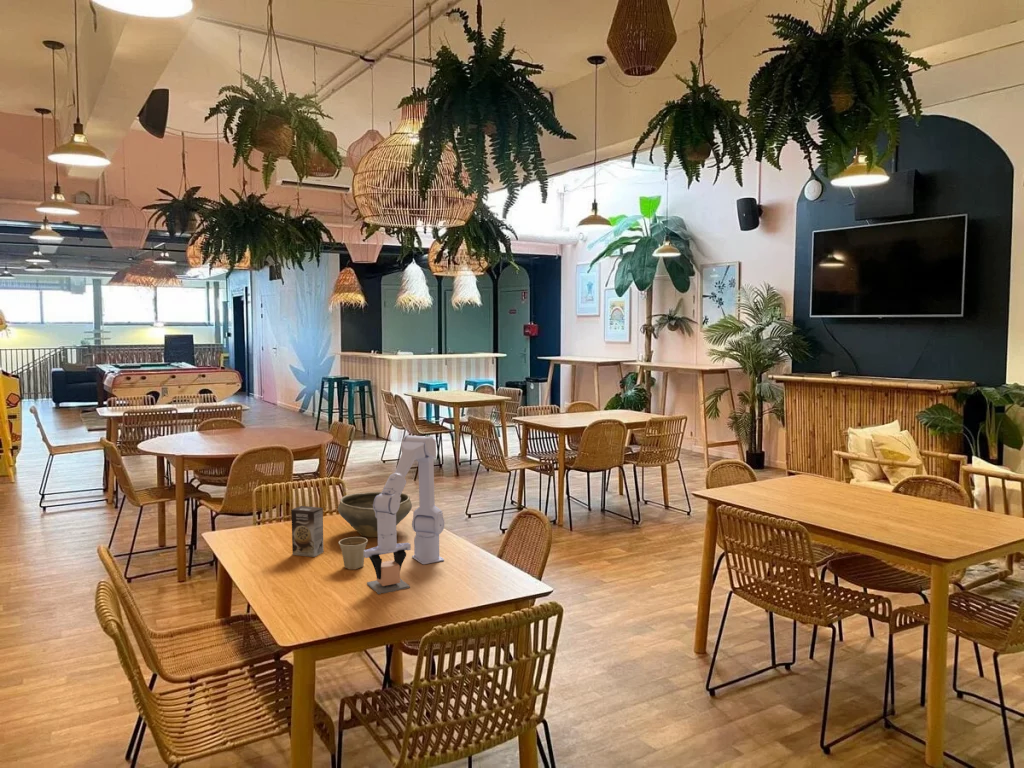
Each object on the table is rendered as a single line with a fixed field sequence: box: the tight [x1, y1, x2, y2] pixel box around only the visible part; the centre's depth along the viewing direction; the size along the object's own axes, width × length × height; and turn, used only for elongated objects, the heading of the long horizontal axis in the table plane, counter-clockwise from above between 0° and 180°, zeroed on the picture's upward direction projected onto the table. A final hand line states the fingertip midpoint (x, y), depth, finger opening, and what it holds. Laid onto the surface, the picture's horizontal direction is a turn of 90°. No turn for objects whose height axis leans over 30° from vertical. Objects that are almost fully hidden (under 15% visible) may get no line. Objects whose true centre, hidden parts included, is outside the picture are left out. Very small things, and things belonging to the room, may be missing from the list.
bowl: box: [337, 491, 413, 538], centre depth 280 cm, size 28×28×14 cm
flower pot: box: [338, 536, 369, 570], centre depth 242 cm, size 9×9×9 cm
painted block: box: [376, 559, 401, 586], centre depth 224 cm, size 6×6×6 cm
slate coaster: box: [366, 578, 410, 595], centre depth 224 cm, size 10×10×1 cm
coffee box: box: [290, 505, 324, 558], centre depth 256 cm, size 9×6×16 cm
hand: (387, 576), depth 224 cm, fingers closed on painted block, 5 cm apart
